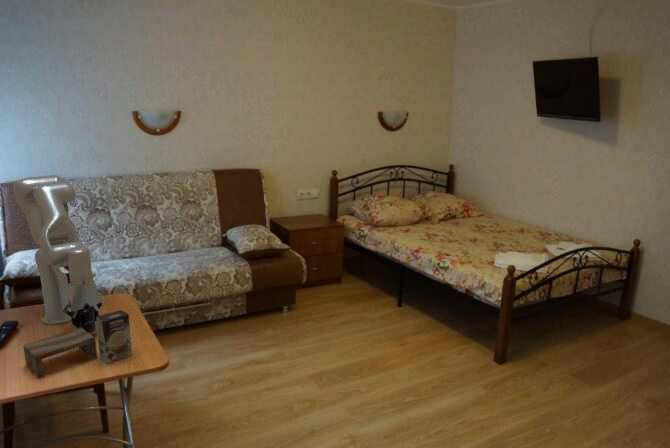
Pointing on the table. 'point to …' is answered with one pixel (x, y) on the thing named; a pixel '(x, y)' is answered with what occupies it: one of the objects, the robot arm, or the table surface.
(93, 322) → the supplement bottle
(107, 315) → the coffee box
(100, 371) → the table surface
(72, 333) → the walnut shelf
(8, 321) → the table surface
